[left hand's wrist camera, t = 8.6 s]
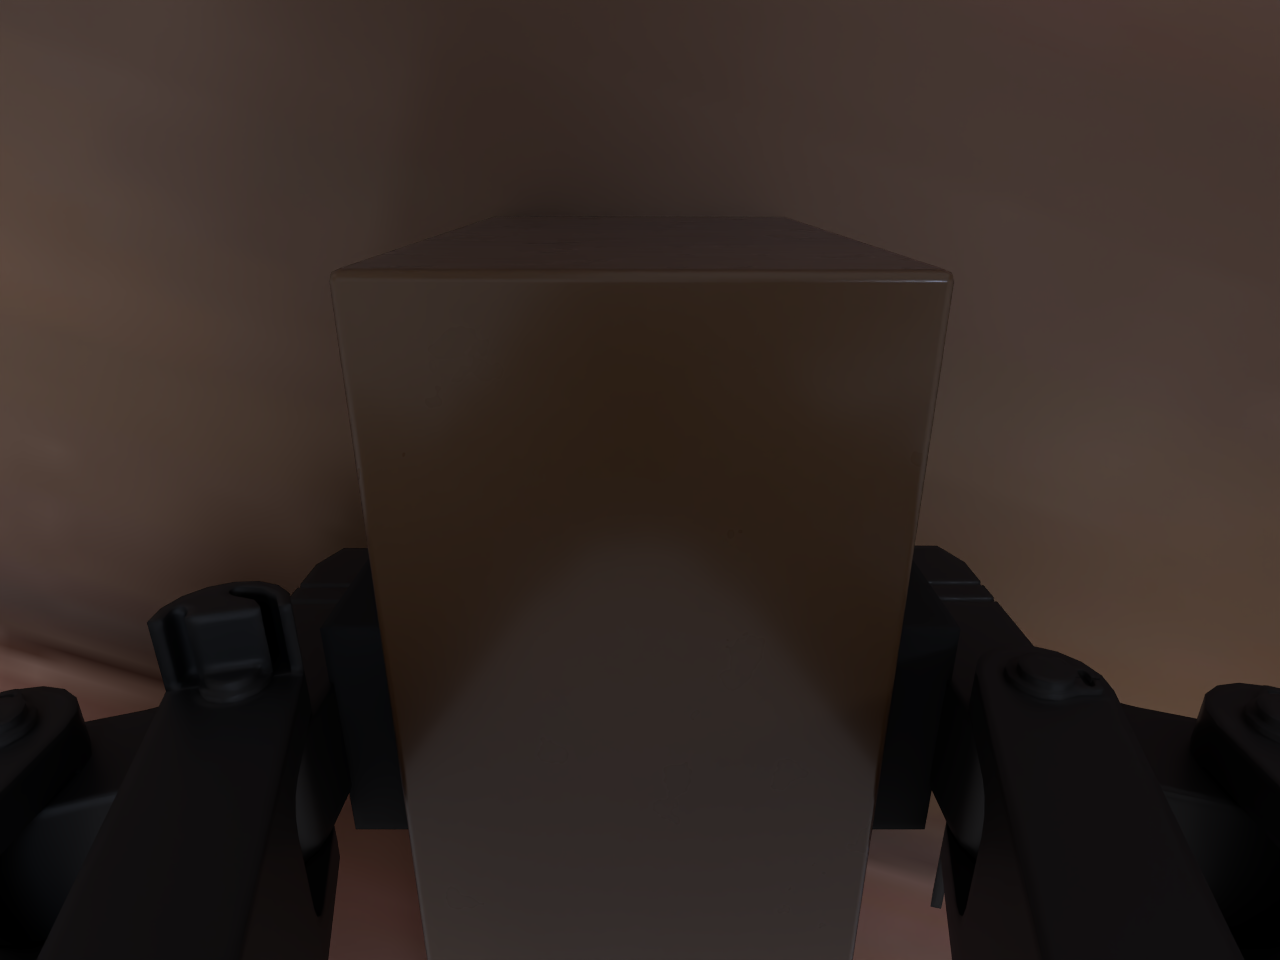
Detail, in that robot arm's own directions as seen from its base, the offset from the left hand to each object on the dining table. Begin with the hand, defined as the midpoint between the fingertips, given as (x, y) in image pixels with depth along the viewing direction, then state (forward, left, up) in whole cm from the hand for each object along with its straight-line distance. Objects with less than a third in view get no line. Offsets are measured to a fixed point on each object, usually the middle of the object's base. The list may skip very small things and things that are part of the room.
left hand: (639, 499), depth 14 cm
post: (+29, +21, -1) cm, 35 cm away
